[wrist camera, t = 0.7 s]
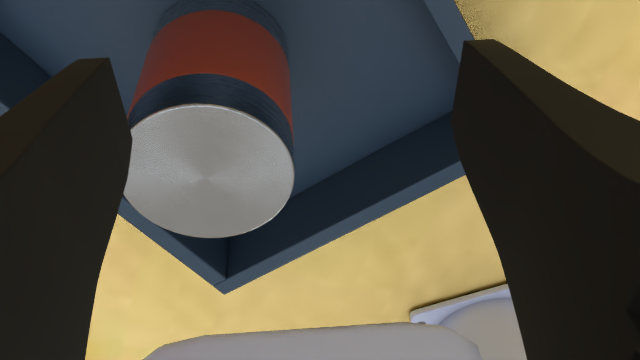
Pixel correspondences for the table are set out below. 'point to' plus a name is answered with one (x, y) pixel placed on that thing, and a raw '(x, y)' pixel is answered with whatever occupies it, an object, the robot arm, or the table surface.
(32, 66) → the tub
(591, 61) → the table surface
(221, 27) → the tin can
